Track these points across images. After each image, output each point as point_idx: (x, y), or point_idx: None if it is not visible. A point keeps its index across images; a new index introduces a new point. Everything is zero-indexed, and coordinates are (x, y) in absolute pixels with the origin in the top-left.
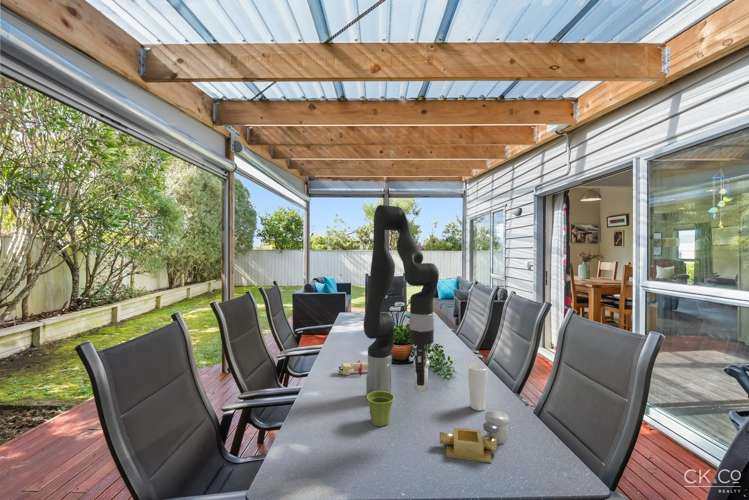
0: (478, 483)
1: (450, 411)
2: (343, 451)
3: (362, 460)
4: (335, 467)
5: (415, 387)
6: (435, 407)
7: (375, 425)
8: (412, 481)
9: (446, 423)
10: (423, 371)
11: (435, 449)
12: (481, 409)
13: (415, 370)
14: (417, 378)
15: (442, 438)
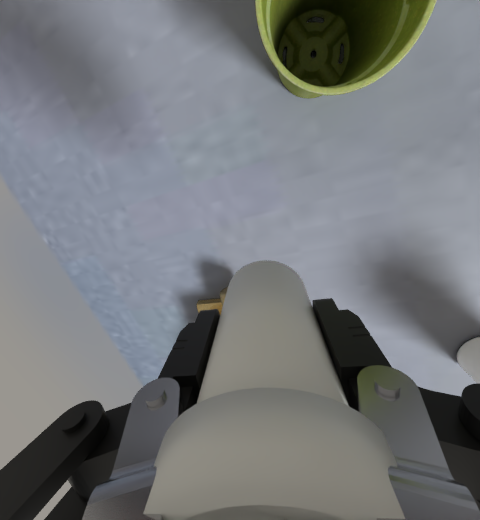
0: (147, 355)
1: (443, 284)
2: (83, 6)
3: (81, 100)
4: (8, 29)
5: (237, 277)
6: (471, 235)
7: (277, 49)
8: (85, 249)
9: (358, 282)
10: (76, 495)
11: (218, 274)
12: (458, 363)
13: (61, 427)
14: (190, 342)
15: (221, 302)
